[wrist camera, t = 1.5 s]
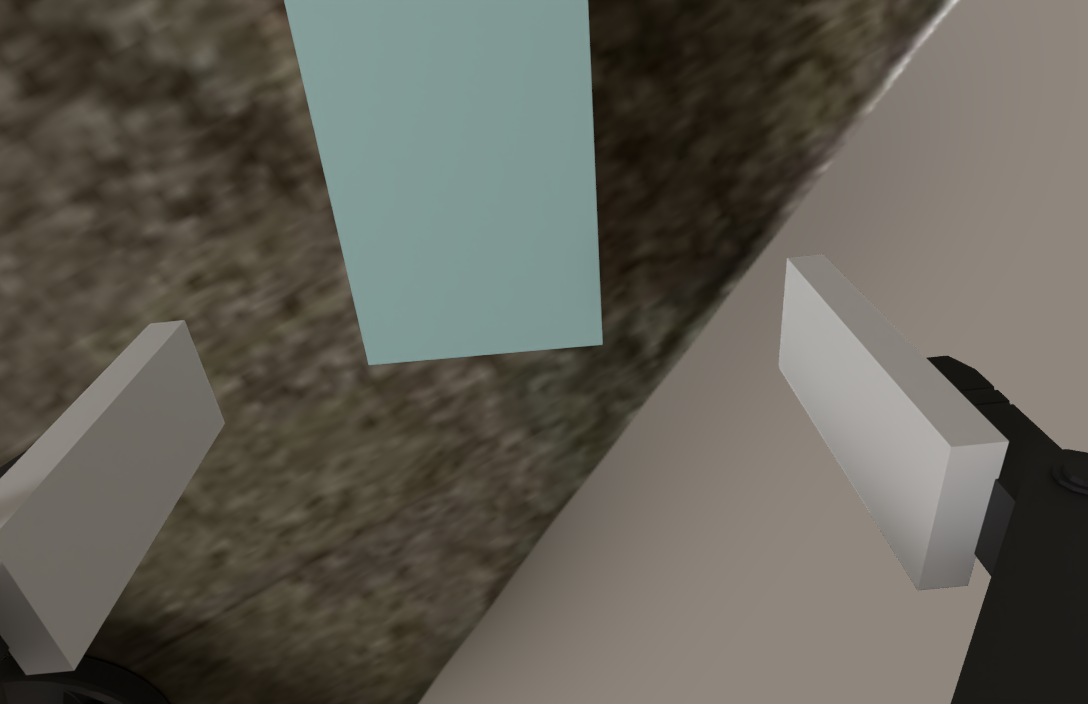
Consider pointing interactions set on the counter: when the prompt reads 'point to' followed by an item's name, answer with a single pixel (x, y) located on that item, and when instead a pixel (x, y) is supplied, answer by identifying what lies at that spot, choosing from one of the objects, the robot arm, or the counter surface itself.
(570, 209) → the lid
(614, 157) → the counter surface
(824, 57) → the counter surface
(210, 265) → the counter surface
